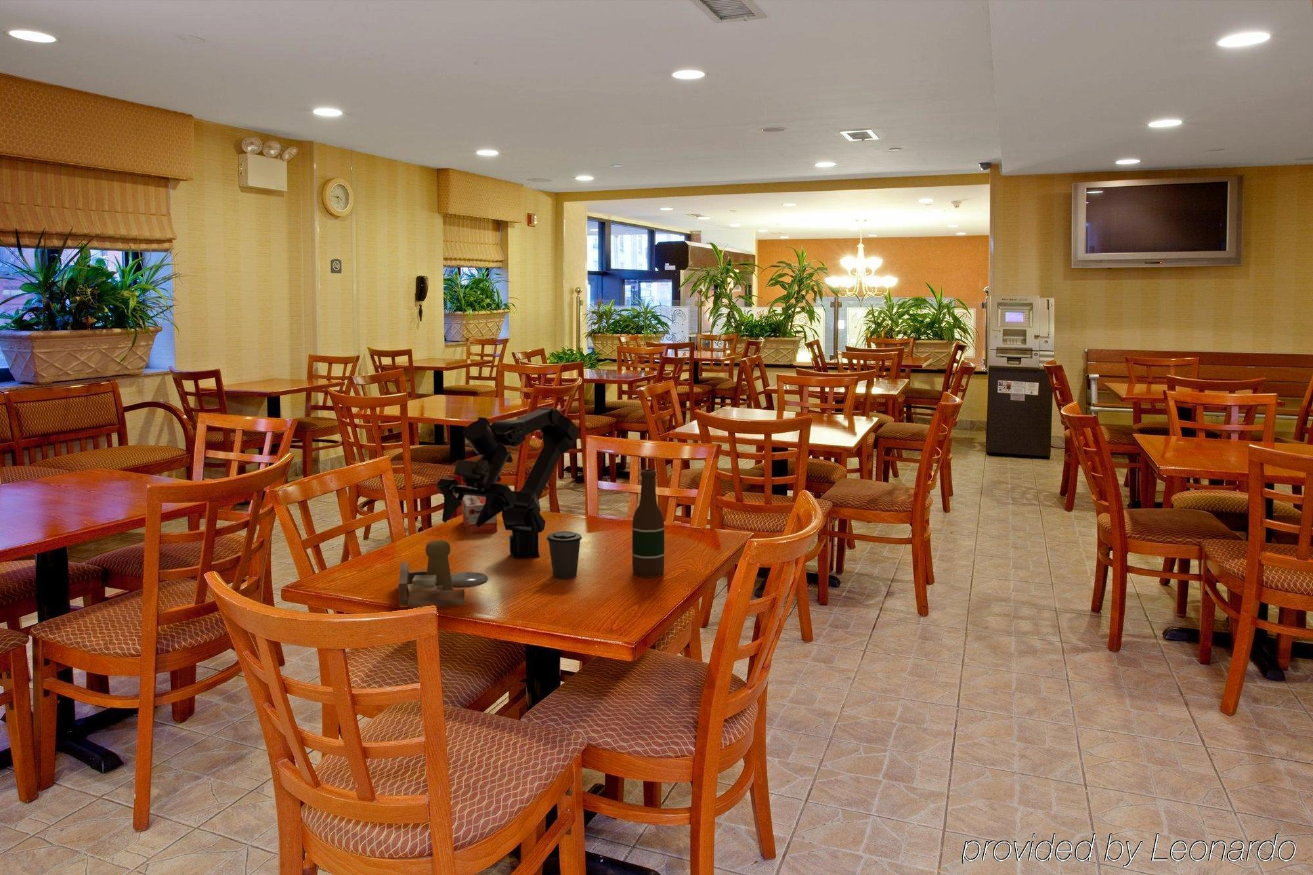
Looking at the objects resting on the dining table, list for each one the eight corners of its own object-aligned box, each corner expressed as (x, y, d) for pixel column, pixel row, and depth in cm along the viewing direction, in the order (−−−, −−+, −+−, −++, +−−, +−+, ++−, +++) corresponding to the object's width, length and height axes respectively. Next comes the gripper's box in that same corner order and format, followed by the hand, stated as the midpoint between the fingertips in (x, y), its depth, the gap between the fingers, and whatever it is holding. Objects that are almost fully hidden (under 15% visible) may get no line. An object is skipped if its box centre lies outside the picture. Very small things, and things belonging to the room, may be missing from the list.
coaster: (486, 572, 220) (486, 570, 220) (489, 585, 211) (489, 583, 211) (442, 575, 218) (442, 573, 218) (442, 588, 208) (442, 586, 208)
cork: (427, 587, 209) (425, 538, 208) (455, 586, 210) (453, 537, 208) (422, 595, 203) (421, 545, 202) (451, 595, 204) (450, 544, 202)
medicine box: (462, 522, 270) (461, 494, 269) (491, 520, 273) (490, 492, 271) (467, 534, 256) (466, 505, 255) (498, 532, 258) (497, 503, 257)
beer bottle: (669, 570, 223) (670, 468, 219) (658, 579, 216) (659, 474, 212) (638, 566, 225) (638, 466, 222) (626, 575, 218) (626, 472, 215)
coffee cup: (554, 582, 213) (554, 538, 211) (541, 573, 220) (541, 531, 218) (588, 578, 216) (588, 534, 215) (574, 569, 224) (574, 527, 222)
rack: (461, 580, 214) (461, 558, 213) (464, 605, 197) (464, 580, 196) (401, 584, 211) (400, 561, 210) (399, 609, 194) (398, 584, 193)
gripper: (440, 442, 218) (408, 499, 210) (507, 448, 210) (478, 507, 201) (462, 471, 226) (433, 526, 218) (528, 478, 218) (501, 536, 209)
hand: (460, 523), depth 211 cm, fingers open, 9 cm apart
